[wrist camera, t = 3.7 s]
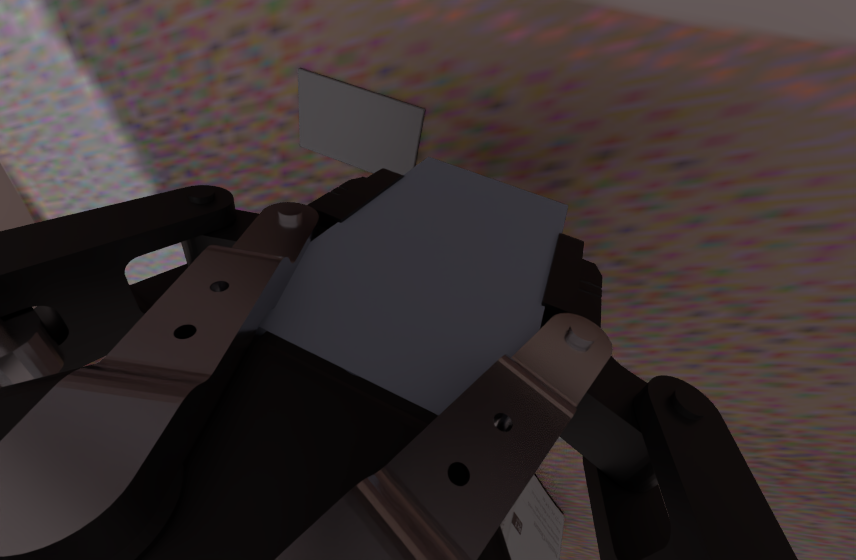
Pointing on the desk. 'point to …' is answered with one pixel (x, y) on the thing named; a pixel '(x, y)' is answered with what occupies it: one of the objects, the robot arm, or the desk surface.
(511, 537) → the skincare box
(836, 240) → the desk surface
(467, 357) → the blue-grey rectangular block
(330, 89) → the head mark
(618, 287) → the desk surface
